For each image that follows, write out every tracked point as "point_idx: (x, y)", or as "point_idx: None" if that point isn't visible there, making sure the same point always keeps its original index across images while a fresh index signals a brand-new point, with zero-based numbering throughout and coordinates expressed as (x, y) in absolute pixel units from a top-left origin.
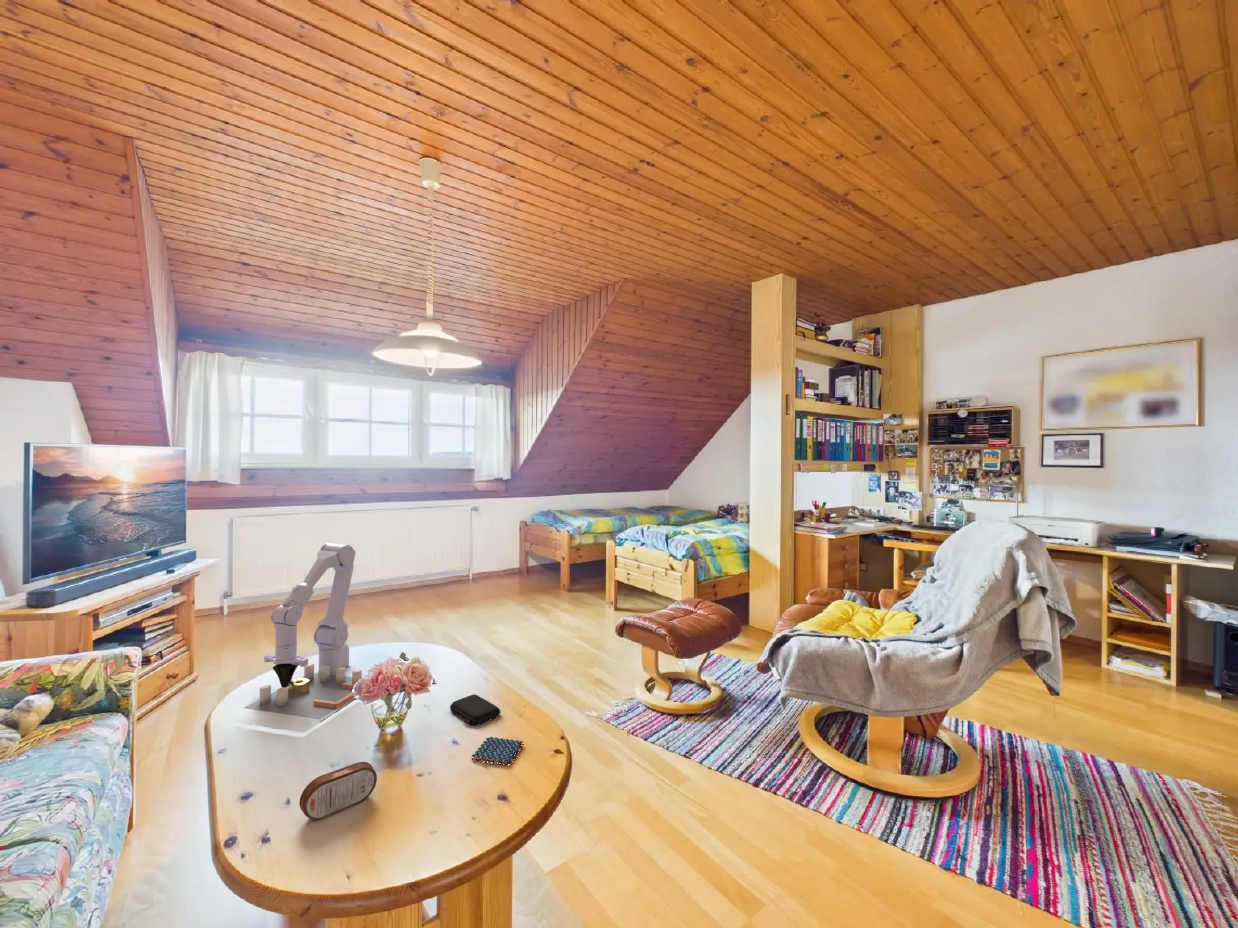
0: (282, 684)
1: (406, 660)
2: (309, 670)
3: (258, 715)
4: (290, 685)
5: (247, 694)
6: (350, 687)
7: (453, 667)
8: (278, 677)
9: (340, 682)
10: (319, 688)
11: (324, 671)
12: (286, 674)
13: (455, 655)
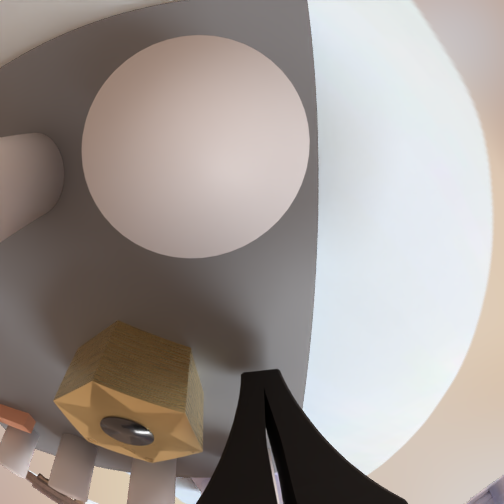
0: (263, 388)
1: (49, 495)
2: None
3: (109, 7)
4: (133, 387)
5: (462, 244)
6: (2, 408)
7: None
8: (318, 434)
9: (61, 440)
10: None
11: (130, 493)
12: (206, 487)
13: (72, 498)
